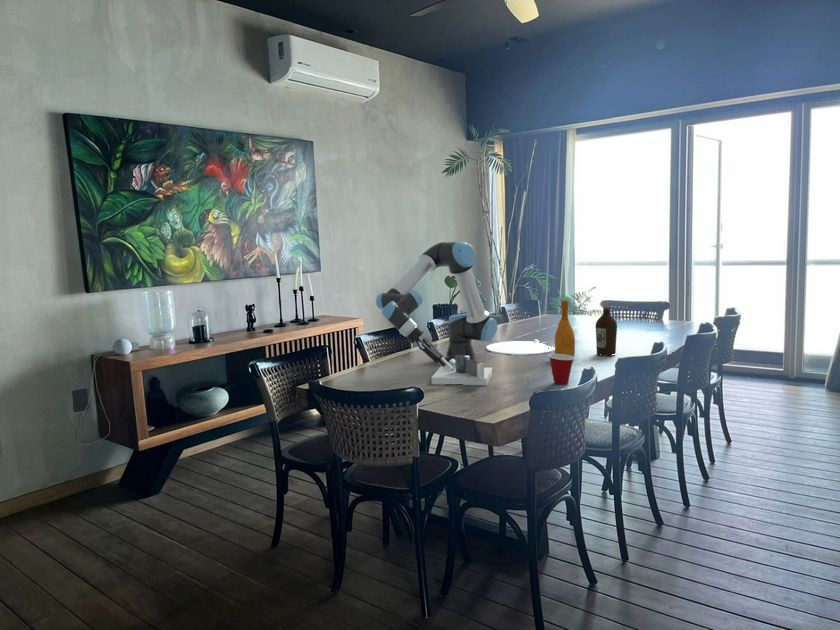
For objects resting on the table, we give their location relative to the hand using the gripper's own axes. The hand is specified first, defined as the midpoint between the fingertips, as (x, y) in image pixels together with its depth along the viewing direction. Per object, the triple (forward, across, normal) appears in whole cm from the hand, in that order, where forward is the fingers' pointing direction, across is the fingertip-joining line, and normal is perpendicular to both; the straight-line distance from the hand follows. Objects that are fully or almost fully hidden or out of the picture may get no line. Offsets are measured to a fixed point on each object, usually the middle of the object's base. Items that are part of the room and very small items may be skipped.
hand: (450, 370), depth 261 cm
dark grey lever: (+8, -7, +3) cm, 11 cm away
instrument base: (+7, -13, -2) cm, 15 cm away
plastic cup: (+37, -8, +28) cm, 47 cm away
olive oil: (+54, -73, +45) cm, 101 cm away
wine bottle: (+39, -59, +30) cm, 77 cm away
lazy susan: (+23, -89, +14) cm, 93 cm away
